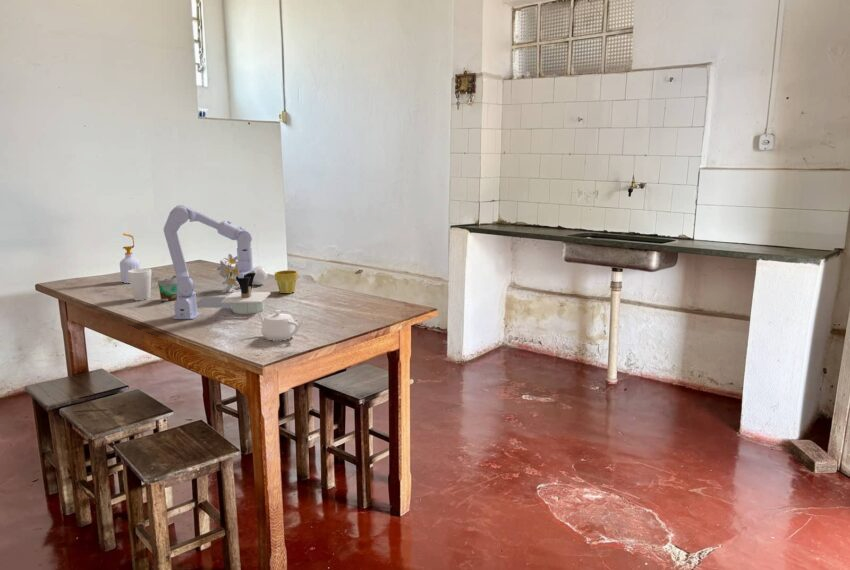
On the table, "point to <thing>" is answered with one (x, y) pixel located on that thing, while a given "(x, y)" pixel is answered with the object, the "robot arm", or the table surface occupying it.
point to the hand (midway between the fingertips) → (246, 291)
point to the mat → (213, 302)
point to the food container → (168, 289)
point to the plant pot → (286, 280)
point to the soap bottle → (128, 263)
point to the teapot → (278, 326)
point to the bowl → (247, 307)
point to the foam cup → (140, 283)
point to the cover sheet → (246, 297)
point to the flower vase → (233, 272)
